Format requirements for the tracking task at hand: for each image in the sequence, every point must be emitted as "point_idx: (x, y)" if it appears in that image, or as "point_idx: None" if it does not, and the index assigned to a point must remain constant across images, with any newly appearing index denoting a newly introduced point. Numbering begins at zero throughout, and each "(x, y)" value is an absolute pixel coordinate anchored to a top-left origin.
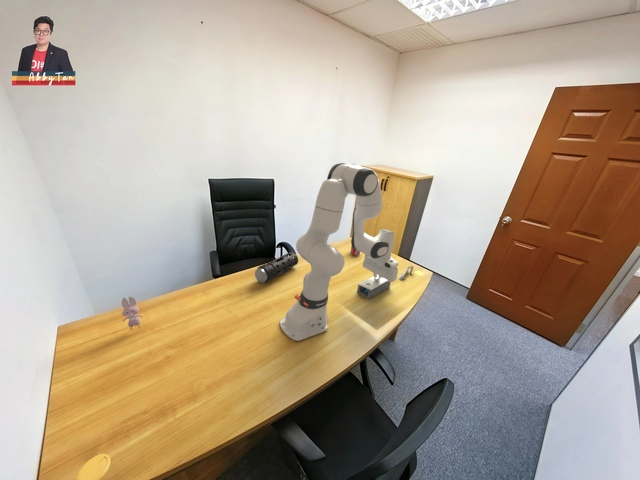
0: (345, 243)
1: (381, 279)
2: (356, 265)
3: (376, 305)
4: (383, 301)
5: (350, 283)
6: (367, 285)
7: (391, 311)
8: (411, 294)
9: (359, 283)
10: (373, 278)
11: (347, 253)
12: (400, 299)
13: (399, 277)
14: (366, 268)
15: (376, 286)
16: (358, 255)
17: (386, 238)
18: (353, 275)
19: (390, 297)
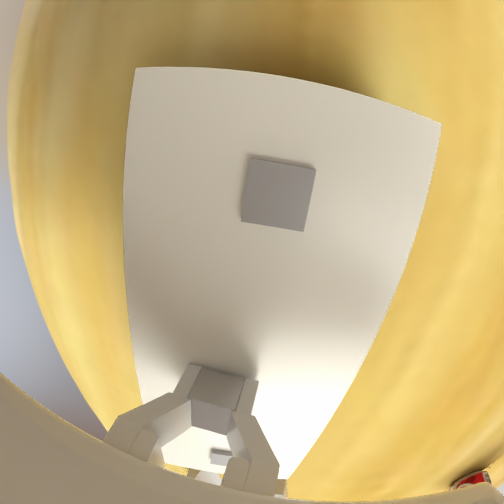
0: (494, 486)
1: None
2: (463, 445)
3: (122, 81)
4: (110, 186)
5: (492, 238)
6: (264, 143)
7: (39, 126)
8: (85, 378)
9: (427, 133)
10: (294, 407)
11: (497, 464)
12: (73, 302)
13: (212, 472)
14: (440, 501)
15: (125, 229)
16: (453, 488)
17: None
18: (483, 363)
19: (111, 283)
